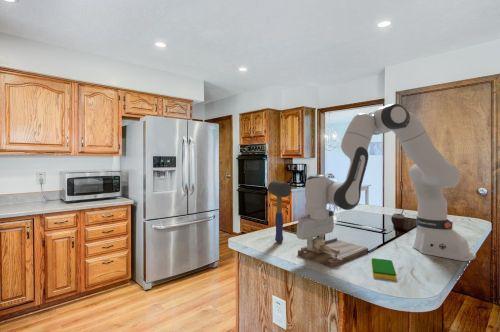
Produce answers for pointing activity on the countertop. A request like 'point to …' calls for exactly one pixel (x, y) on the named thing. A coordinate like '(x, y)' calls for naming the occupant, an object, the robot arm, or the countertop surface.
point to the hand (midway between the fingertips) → (315, 246)
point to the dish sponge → (383, 269)
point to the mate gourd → (398, 220)
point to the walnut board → (329, 259)
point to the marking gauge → (321, 247)
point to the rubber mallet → (279, 205)
